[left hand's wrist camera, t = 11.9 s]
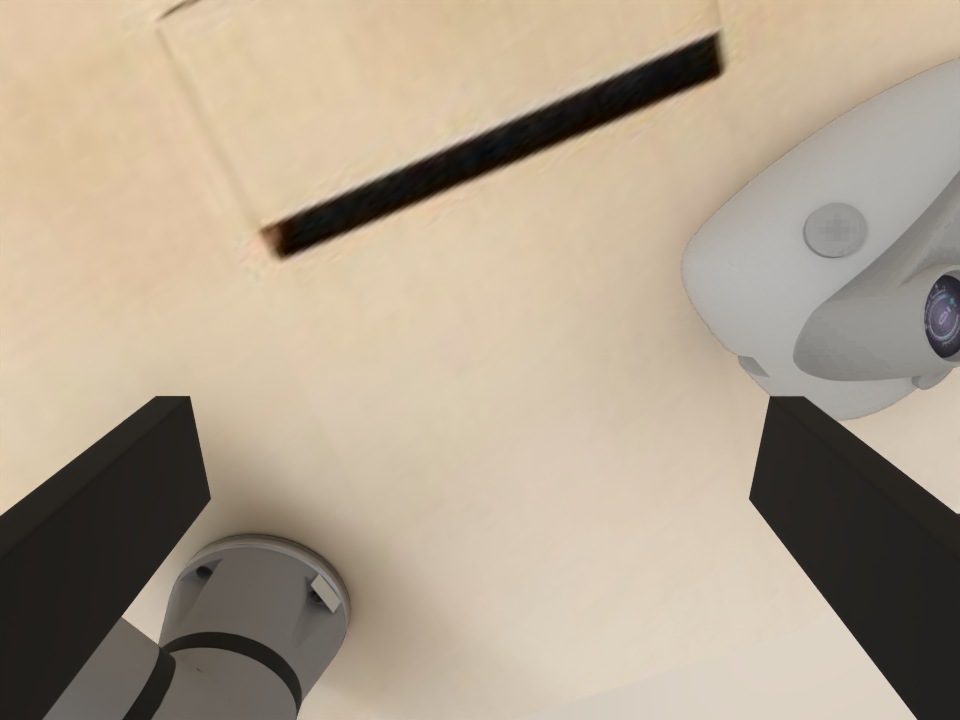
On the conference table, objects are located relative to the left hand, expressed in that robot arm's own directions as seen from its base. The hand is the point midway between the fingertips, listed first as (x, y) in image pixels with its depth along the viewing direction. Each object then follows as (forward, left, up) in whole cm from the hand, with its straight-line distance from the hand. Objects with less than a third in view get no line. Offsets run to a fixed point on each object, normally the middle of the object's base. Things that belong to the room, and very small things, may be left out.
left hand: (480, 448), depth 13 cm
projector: (+8, -24, -28) cm, 37 cm away
